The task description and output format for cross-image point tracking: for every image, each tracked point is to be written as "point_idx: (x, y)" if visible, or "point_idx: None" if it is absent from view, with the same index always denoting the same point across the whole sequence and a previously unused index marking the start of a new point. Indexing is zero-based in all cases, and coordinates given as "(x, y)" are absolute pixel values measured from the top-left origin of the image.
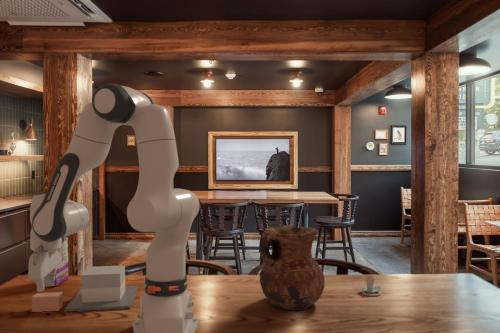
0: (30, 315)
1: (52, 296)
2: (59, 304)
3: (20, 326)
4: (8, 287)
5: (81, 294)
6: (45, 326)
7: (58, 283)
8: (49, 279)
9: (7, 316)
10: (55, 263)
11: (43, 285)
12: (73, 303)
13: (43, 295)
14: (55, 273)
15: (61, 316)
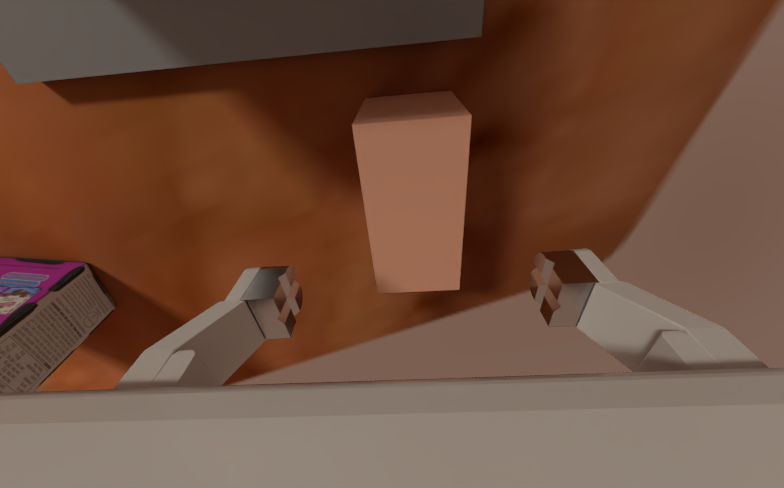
0: (479, 226)
1: (466, 168)
2: (442, 99)
3: (619, 214)
4: None
5: (143, 16)
6: (703, 75)
7: (43, 266)
8: (295, 303)
9: (469, 302)
10: (214, 479)
11: (611, 281)
12: (360, 4)
13: (429, 240)
14: (207, 310)
15: (554, 27)
